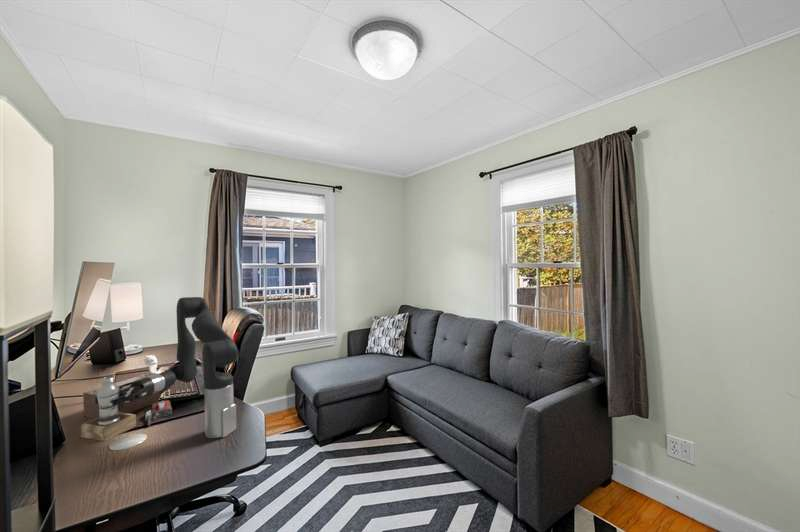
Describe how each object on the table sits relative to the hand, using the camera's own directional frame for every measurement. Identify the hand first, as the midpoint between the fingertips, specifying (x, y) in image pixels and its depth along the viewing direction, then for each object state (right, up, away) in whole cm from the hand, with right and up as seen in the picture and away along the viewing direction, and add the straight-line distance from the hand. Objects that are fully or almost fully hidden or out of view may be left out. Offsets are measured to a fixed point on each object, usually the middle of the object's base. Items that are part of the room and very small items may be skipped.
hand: (104, 402), depth 120 cm
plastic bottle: (+1, -12, +2) cm, 12 cm away
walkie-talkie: (+10, -12, +14) cm, 21 cm away
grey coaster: (+14, -11, -6) cm, 19 cm away
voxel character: (-18, -12, +47) cm, 51 cm away
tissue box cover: (-10, -12, +24) cm, 29 cm away
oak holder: (+1, -11, +2) cm, 12 cm away
